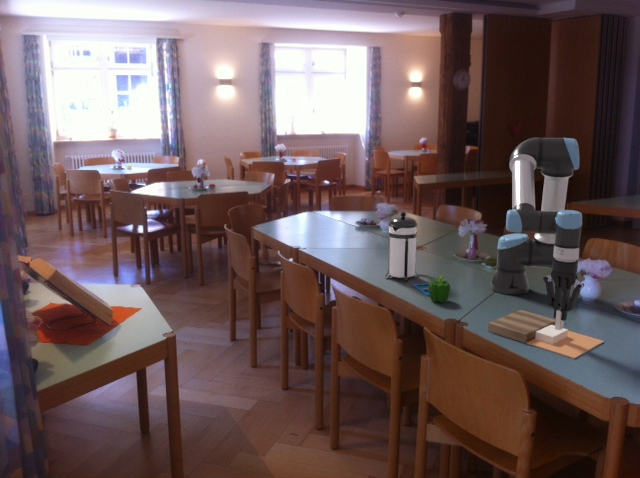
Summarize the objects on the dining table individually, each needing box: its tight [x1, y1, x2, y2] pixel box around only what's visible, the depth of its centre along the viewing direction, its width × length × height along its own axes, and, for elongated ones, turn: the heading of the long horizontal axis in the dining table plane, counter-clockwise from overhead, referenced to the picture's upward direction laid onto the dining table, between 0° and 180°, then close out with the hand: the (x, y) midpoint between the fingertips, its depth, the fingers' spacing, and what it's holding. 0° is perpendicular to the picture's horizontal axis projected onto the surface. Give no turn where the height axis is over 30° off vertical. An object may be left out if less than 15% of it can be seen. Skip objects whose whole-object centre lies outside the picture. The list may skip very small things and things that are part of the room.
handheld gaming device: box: [412, 282, 430, 297], centre depth 250 cm, size 8×1×15 cm
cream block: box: [535, 325, 569, 344], centre depth 197 cm, size 10×6×2 cm, turn 131°
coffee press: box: [384, 211, 419, 283], centre depth 265 cm, size 17×16×30 cm
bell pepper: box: [429, 275, 451, 303], centre depth 235 cm, size 8×8×10 cm
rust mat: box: [526, 330, 605, 360], centre depth 194 cm, size 20×16×1 cm
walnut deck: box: [487, 309, 556, 344], centre depth 205 cm, size 20×14×3 cm
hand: (559, 328), depth 195 cm, fingers closed
